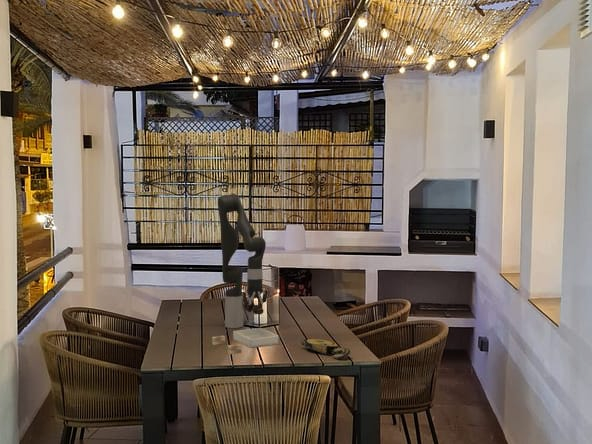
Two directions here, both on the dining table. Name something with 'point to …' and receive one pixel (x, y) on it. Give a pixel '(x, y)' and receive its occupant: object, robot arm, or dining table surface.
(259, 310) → the bolt
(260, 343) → the tray
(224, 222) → the robot arm
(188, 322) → the dining table surface
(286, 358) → the dining table surface
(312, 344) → the pulley block
